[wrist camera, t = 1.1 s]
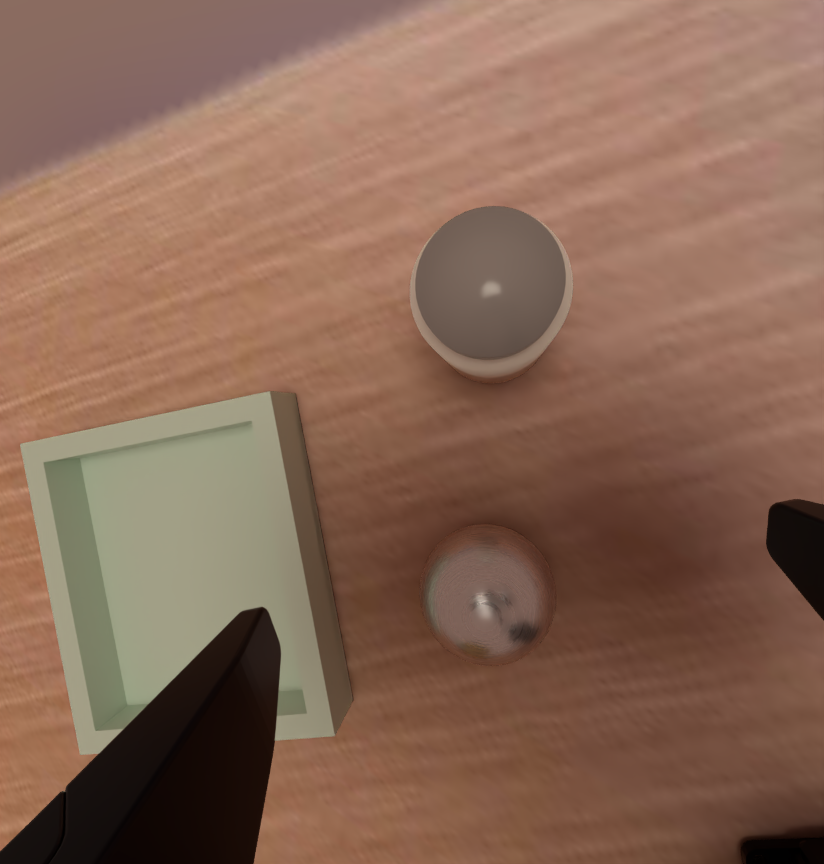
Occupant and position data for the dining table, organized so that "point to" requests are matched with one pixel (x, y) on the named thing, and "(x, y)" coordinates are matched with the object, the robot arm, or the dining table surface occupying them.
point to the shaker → (491, 292)
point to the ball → (487, 595)
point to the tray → (185, 558)
